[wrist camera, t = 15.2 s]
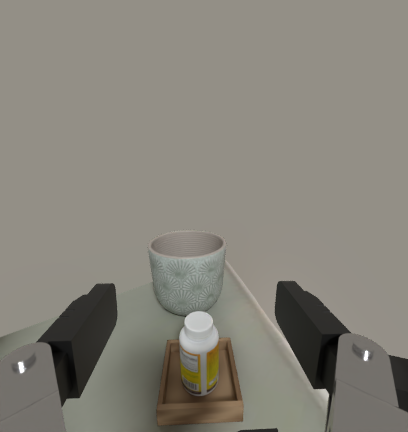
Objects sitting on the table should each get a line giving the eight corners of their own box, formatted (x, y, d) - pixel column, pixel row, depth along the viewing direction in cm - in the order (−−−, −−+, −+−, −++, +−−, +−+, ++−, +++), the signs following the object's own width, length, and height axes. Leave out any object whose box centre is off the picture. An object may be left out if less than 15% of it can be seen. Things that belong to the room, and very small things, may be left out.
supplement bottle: (214, 360, 35) (215, 305, 32) (221, 396, 30) (223, 333, 27) (180, 364, 34) (178, 308, 32) (181, 401, 29) (178, 338, 26)
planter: (234, 322, 44) (236, 253, 40) (149, 334, 41) (144, 261, 37) (215, 280, 60) (216, 228, 57) (154, 286, 57) (150, 232, 54)
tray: (157, 425, 27) (156, 410, 26) (168, 352, 37) (167, 339, 37) (242, 421, 27) (243, 405, 27) (229, 350, 38) (229, 337, 37)
